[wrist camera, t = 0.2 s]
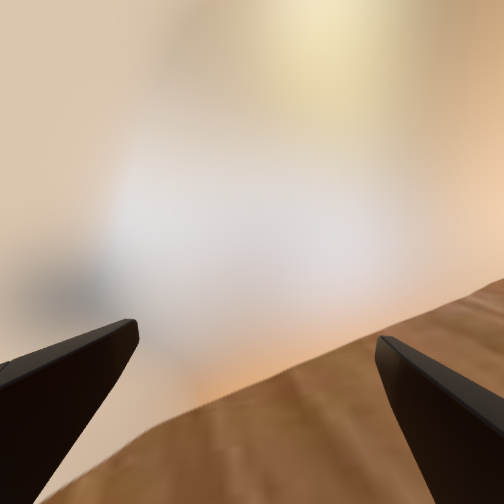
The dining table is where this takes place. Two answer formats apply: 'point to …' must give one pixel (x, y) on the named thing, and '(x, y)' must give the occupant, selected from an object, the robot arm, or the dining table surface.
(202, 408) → the dining table surface
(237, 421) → the dining table surface
